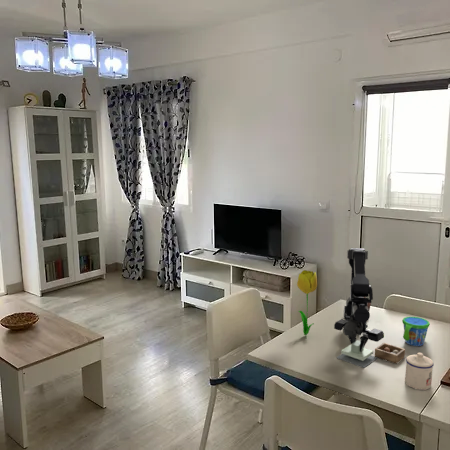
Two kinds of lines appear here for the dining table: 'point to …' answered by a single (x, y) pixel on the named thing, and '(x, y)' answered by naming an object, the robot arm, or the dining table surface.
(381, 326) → the dining table surface
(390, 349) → the crate
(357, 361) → the mat
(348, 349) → the lid
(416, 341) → the snack cup
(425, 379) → the teacup with lid
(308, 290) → the flower
